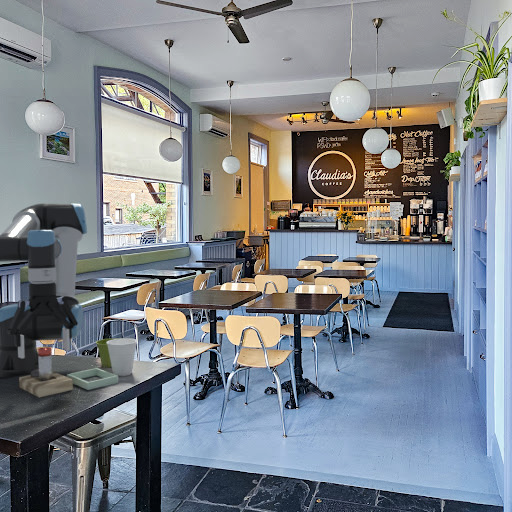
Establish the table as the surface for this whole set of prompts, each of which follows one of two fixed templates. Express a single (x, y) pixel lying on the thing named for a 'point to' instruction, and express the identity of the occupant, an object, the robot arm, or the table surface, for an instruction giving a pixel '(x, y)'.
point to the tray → (107, 380)
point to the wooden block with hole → (45, 384)
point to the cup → (122, 355)
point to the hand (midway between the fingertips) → (44, 353)
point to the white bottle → (45, 364)
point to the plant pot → (104, 352)
